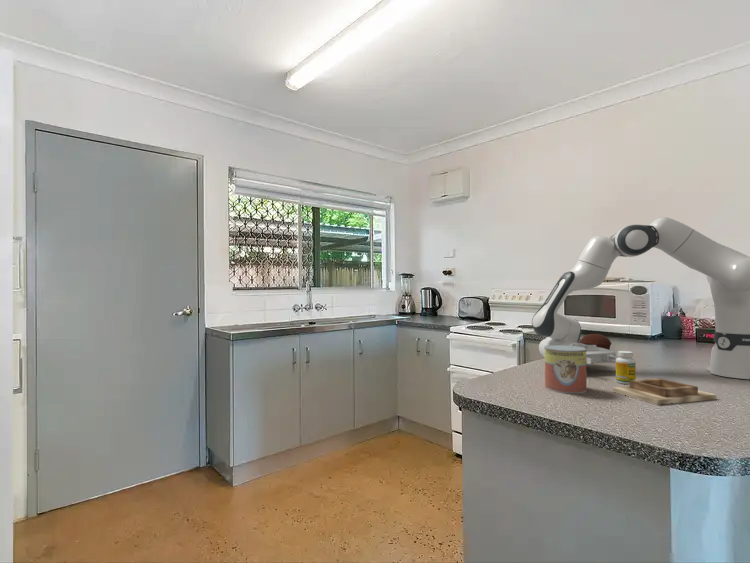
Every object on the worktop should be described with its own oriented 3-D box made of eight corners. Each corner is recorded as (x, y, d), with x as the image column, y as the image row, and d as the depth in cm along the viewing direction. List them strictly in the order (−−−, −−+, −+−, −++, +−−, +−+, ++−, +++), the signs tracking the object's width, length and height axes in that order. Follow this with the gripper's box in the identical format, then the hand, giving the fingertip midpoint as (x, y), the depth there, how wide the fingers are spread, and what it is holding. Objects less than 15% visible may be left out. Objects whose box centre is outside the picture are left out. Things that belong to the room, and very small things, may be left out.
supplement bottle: (621, 380, 135) (620, 350, 135) (639, 383, 131) (638, 352, 131) (612, 382, 132) (612, 351, 132) (630, 385, 128) (630, 353, 128)
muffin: (617, 359, 174) (616, 334, 174) (603, 361, 168) (602, 336, 168) (588, 355, 184) (588, 332, 184) (574, 357, 178) (574, 333, 178)
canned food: (545, 391, 121) (544, 349, 121) (544, 383, 132) (543, 344, 132) (589, 394, 117) (588, 351, 117) (584, 385, 128) (583, 346, 128)
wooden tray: (667, 387, 126) (667, 376, 126) (716, 399, 112) (716, 387, 112) (612, 391, 120) (612, 380, 120) (657, 405, 107) (656, 392, 107)
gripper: (549, 347, 151) (577, 352, 137) (597, 344, 156) (628, 349, 143) (549, 364, 150) (577, 372, 137) (597, 361, 156) (628, 368, 142)
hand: (604, 360), depth 140 cm, fingers open, 8 cm apart
